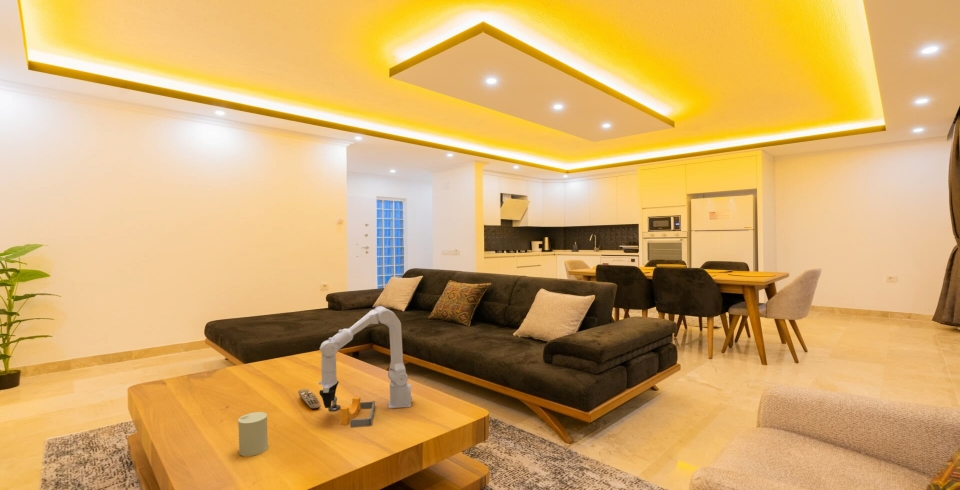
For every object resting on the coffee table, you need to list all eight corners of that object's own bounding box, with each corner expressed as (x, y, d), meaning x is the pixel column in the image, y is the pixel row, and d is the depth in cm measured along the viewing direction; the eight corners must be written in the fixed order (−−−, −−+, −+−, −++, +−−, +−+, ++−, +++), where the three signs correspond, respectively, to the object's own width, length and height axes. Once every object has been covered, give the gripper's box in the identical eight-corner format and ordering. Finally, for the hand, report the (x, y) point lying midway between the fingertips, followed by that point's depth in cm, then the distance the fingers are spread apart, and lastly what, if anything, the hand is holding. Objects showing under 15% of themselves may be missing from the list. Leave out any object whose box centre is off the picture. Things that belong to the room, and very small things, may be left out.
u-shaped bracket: (375, 407, 188) (374, 401, 188) (371, 425, 171) (371, 418, 171) (356, 408, 187) (356, 402, 187) (350, 427, 170) (350, 420, 170)
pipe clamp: (350, 411, 184) (350, 396, 184) (360, 412, 184) (360, 397, 183) (336, 424, 173) (336, 408, 172) (346, 425, 172) (346, 409, 172)
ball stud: (341, 406, 190) (341, 393, 190) (339, 411, 185) (339, 398, 185) (329, 407, 189) (329, 394, 189) (327, 411, 184) (327, 399, 184)
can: (246, 443, 157) (245, 411, 157) (272, 442, 158) (271, 409, 158) (233, 457, 148) (232, 422, 148) (262, 455, 149) (260, 421, 148)
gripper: (322, 365, 183) (323, 397, 183) (314, 377, 169) (315, 411, 169) (339, 364, 184) (340, 396, 184) (333, 376, 170) (334, 410, 170)
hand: (329, 403), depth 177 cm, fingers open, 7 cm apart
